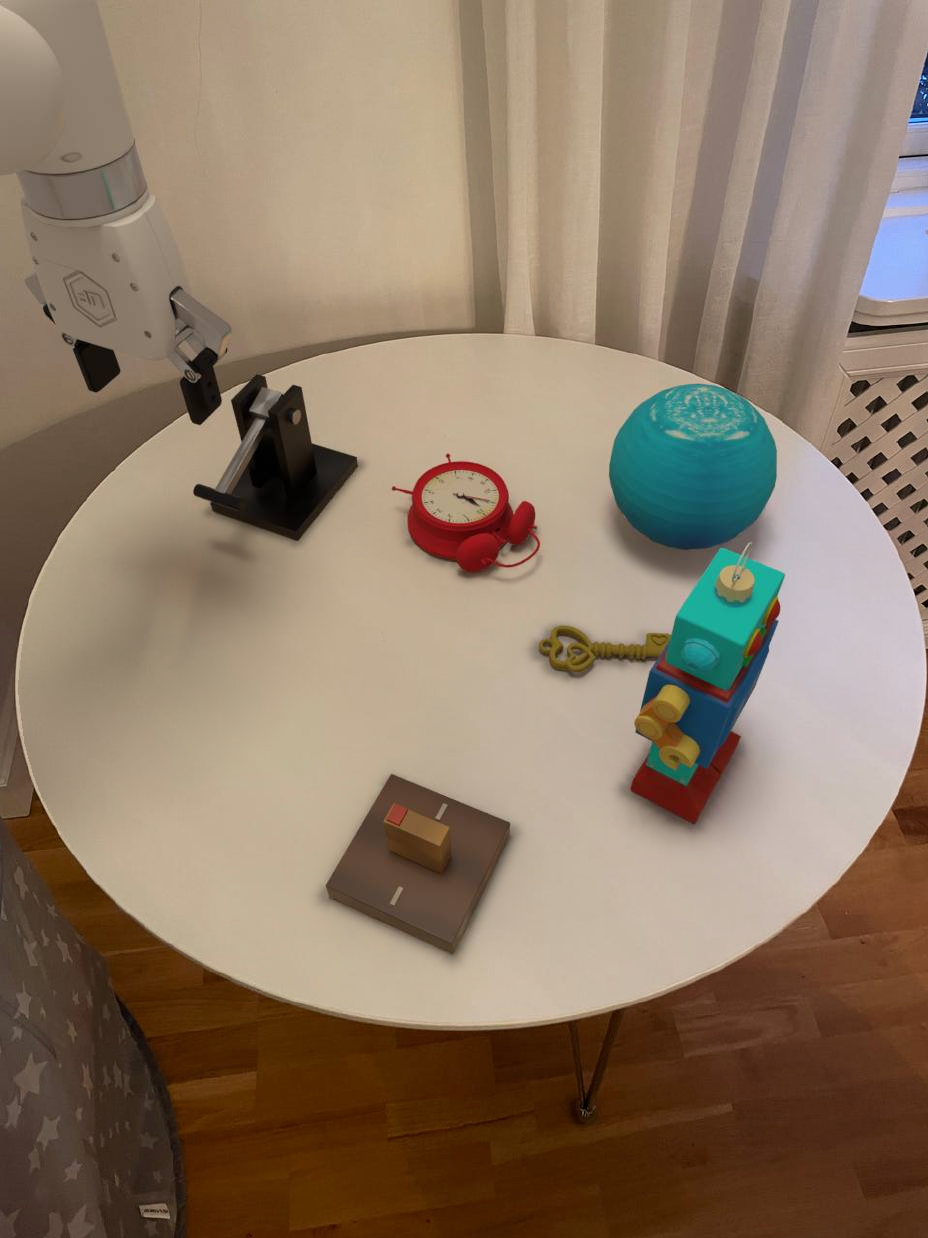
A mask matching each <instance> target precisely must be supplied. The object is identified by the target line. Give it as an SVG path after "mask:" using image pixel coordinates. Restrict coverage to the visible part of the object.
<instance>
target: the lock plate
mask: <svg viewBox="0 0 928 1238" xmlns="http://www.w3.org/2000/svg"><path fill="white" fill-rule="evenodd" d="M394 803H395V804H397V805H400V806H402V807H404V808H407V809H409V810H411V811H414V812H416V813H418V814H421V815H423V816H425V817H428V818H430V819H432V820H434V821H437V822H439V823H441V824H444V825H446V826H448V827H450V839H451V858H450V860H449V862H448V864H447V866H446V868H445V869H444V871H443V873H442V874H441V873H438V872H436V871H434V870H432V869H429V868H427V867H425V866H423V865H421V864H418V863H416V862H414V861H412V860H409V859H407V858H405V857H403V856H401V855H398V854H396V853H394V852H392V851H389V850H388V845H387V840H386V834H385V828H384V822H383V821H384V819H385V817H386V816H387V814H388V812H389V810H390V809H391V807H392V805H393V804H394ZM510 833H511V822H510V821H508V820H505V819H502V818H500V817H497V816H496V815H493V814H490V813H488V812H486V811H483V810H482V809H481V810H480V809H478V808H476V807H474V806H471V805H469V804H466V803H464V802H461V801H459V800H457V799H454V798H451V797H449V796H446V795H444V794H441V793H439V792H437V791H434V790H432V789H430V788H427V787H425V786H422V785H420V784H417V783H415V782H412V781H410V780H409V779H406V778H403V777H401V776H398V775H396V774H393V773H390V775H389V777H388V778H387V780H386V782H385V784H384V785H383V787H382V788H381V790H380V791H379V793H378V795H377V797H376V799H375V800H374V802H373V804H372V805H371V807H370V809H369V811H368V812H367V815H366V816H365V817H364V819H363V821H362V822H361V824H360V826H359V828H358V829H357V831H356V833H355V835H354V836H353V838H352V839H351V841H350V843H349V845H348V847H347V848H346V850H345V852H344V853H343V855H342V857H341V859H340V860H339V862H338V863H337V865H336V867H335V868H334V870H333V872H332V874H331V875H330V877H329V879H328V881H327V882H326V884H325V888H326V892H327V894H328V897H329V898H330V899H333V900H335V901H337V902H339V903H341V904H343V905H346V906H347V907H350V908H352V909H353V910H354V909H355V910H356V911H358V912H360V913H363V914H365V915H367V916H369V917H371V918H373V919H376V920H378V921H380V922H383V923H384V924H386V925H388V926H391V927H393V928H396V929H397V930H399V931H402V932H404V933H406V934H408V935H410V936H412V937H415V938H417V939H419V940H421V941H423V942H425V943H428V944H429V945H432V946H434V947H435V948H439V949H440V950H442V951H445V952H447V953H448V954H451V955H453V954H454V953H455V952H456V949H457V947H458V945H459V943H460V941H461V938H462V937H463V935H464V933H465V930H466V929H467V926H468V924H469V922H470V919H471V917H472V916H473V913H474V912H475V909H476V907H477V905H478V903H479V901H480V899H481V896H482V894H483V892H484V890H485V888H486V886H487V883H488V882H489V879H490V878H491V876H492V873H493V871H494V869H495V867H496V865H497V863H498V861H499V858H500V856H501V854H502V852H503V849H504V848H505V846H506V843H507V841H508V839H509V837H510V835H511V834H510Z"/></svg>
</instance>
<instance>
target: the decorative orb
mask: <svg viewBox="0 0 928 1238" xmlns="http://www.w3.org/2000/svg"><path fill="white" fill-rule="evenodd" d="M609 459H610V460H609V465H608V477H609V485H610V488H611V491H612V494H613V498H614V502H615V503H616V507H617V508H618V510H619V511H620V513H621V514H622V515H623V517H624V518H625V519H626V520H627V522H628V523H629V524H630V525H631V527H632V528H633V529H634V530H635V531H637V532H638V533H640V534H642V536H644V537H645V538H648V539H649V540H650V541H651V542H654V543H656V544H659V545H661V546H664V547H667V548H671V549H677V550H685V551H691V550H702V549H703V550H704V549H709V548H712V547H716V546H719V545H722V544H724V543H727V542H729V541H731V540H733V539H736V537H738V536H739V535H740V534H741V533H743V532H744V531H746V530H747V529H748V528H749V527H751V526H752V525H753V524H754V523H755V522H756V521H757V520H758V519H759V517H760V516H761V515H762V513H763V511H764V509H765V507H766V505H768V502H769V501H770V498H771V496H772V495H773V492H774V490H775V488H776V487H775V486H776V482H777V476H778V475H777V474H778V473H777V472H778V449H777V445H776V441H775V439H774V436H773V434H772V432H771V430H770V428H769V426H768V423H767V421H766V420H765V417H764V416H763V415H762V414H761V413H760V411H758V409H756V407H755V406H753V404H751V402H749V400H747V399H745V398H744V397H743V396H742V395H739V394H737V393H735V392H734V391H732V390H730V389H727V388H724V387H721V386H719V385H715V384H706V383H688V384H687V383H686V384H680V385H676V386H673V387H669V388H666V389H663V390H660V391H658V392H657V393H655V394H653V395H652V396H651V397H649V398H647V399H646V400H644V401H642V402H640V404H639V405H637V406H636V408H634V409H633V411H631V413H630V415H629V416H628V417H627V419H626V420H625V421H624V423H623V424H622V425H621V427H620V428H619V429H618V431H617V433H616V435H615V438H614V440H613V445H612V449H611V454H610V458H609Z"/></svg>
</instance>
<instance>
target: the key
mask: <svg viewBox="0 0 928 1238" xmlns="http://www.w3.org/2000/svg"><path fill="white" fill-rule="evenodd" d="M645 635H646V637H645V638H646V639H645V640H646V644H642V645H641V644H639V643H637V644H636V645H635V644H634V643H630V644H629V645H625V644H624V643H623V642H620V643H619V644H612V642H605V641H602V642H600V643H599V641H593V643H592V641H591V640H590V639H589V637H588V636H587V635H586V634H585V633H584V632H583V631H582V630H580V629H578V628H576V627H573V626H571V625H557V626H555V627H554V628H552V630H551V632H550V635H549V636H550V637H549V638H543V639H542V640H541V641H540V642H539V644H538V648H539V651H540V652H541V653H542V654H545V655H549V656H548V657H549V659H548V660H549V664H550V666H551V667H552V668H553V669H555V670H558V671H570V672H571V673H582V672H584V671H585V670H587V669H588V668H589V667H591V665H592V664H593V663H594V662H595V661H596V657H598V656H599V655H600V657H601V658H604V657H606V658H611V656H612V655H613V656H618V658H620V659H622V658H624V656H628V658H629V659H631V660H632V659H634V658H635V659H636V660H640V659H641V660H647V658H659V656H660V655H661V653H662V651H663V650H664V648H665V647H666V645H667V644H668V642H669V641H670V638H671V634H670V633H665V632H663V633H661V632H647V633H646V634H645ZM558 636H568V637H571V638H574V639H576V640H577V641H578V642H575V641H574V642H570V643H569V644H568V646H567V647H566V654H567V656H568V658H567V660H559V659H558V658H557V656H558V655H559V654H560V653H561V652H563V649H564V645H563V643H562V642H561V641H560V640H559V639H558ZM546 645H550V646H551V647H550V648H545V647H544V646H546ZM573 650H578V651H581V652H582V653H581V654H580V655H578V656H576V654H575V653H574V652H573Z"/></svg>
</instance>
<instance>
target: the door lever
mask: <svg viewBox="0 0 928 1238" xmlns="http://www.w3.org/2000/svg"><path fill="white" fill-rule="evenodd" d="M283 394H284V393H283V392H282V391H279V390H278V391H277V390H274V389H271V388H269V387H268V388H264V387H262V389H261V390H260V392H259V394H258V395H257V397H256V399H255V401H254V402H253V404H252V406H251V408H250V409H249V412H250V413H251V415H252V417H253V418H254V422H253V423H252V425H251V427H250V429H249V430H248V432H247V434H246V436H245V437H244V439H243V441H242V442H241V443H240V444H239V446H238V448H237V450H236V451H235V453H234V455H233V457H232V458H231V460H230V462H229V464H228V466H227V467H226V470H225V471H224V472H223V474H222V476H221V478H220V480H219V481H218V483H217V485H216V486H215V488H213V487H212V486H207V485H205V484H202V483H196V484H195V486H194V487H193V490H192V493H193V496H194V497H196V498H200V499H202V500H205V501H208V502H214V503H217V504H220V505H223V506H226V507H229V508H231V509H234V510H237V511H243V510H244V509H245V507H246V500H245V499H243V498H240V497H237V496H234V495H231V493H232V491H233V489H234V488H235V486H236V484H237V482H238V481H239V479H240V477H241V475H242V473H243V472H244V470H245V468H246V466H247V465H248V463H249V461H250V459H251V458H252V456H253V454H254V452H255V450H256V449H257V447H258V445H259V443H260V442H261V440H262V438H263V436H264V434H265V433H266V431H267V429H268V428H269V429H271V425H270V420H269V416H268V410H269V409H270V408H271V407H272V406H273V405H274V404H275V403H276V402H277V401H278V400H279V399H280V398H281V396H282V395H283Z"/></svg>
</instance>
